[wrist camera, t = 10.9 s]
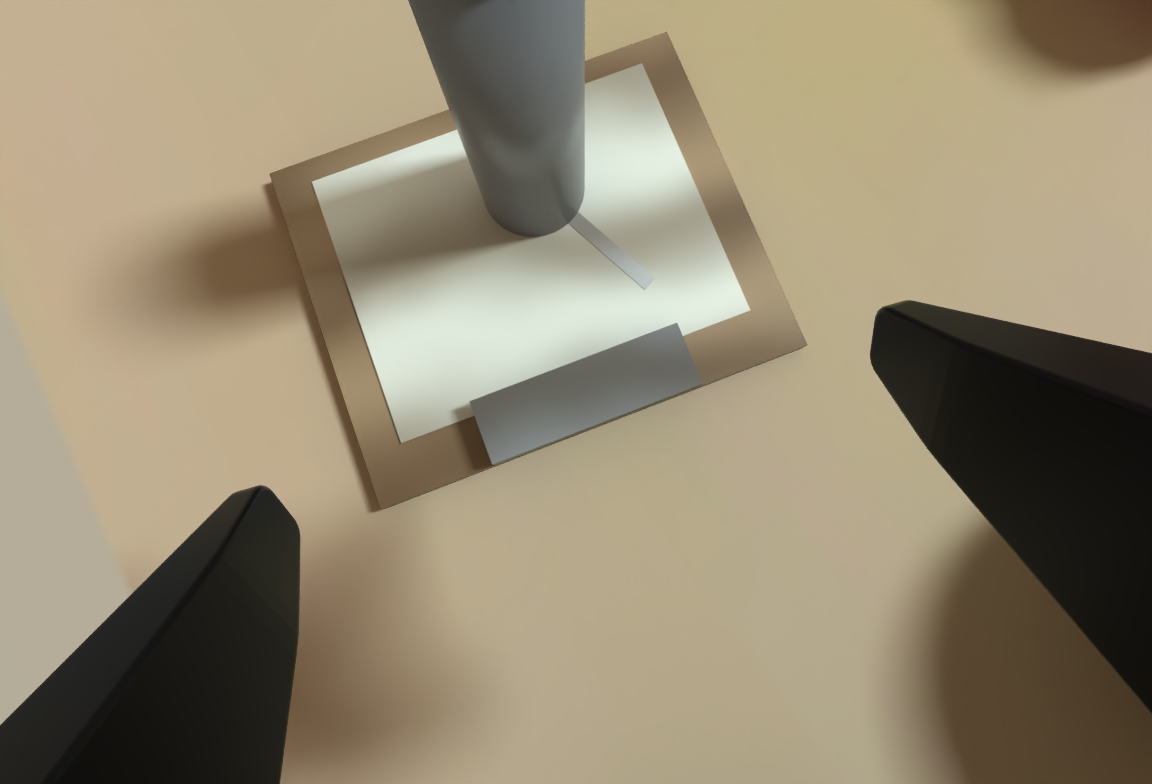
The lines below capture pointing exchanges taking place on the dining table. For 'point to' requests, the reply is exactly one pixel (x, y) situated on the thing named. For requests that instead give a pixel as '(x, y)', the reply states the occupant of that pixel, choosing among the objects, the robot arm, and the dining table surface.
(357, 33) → the dining table surface
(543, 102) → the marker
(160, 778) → the robot arm
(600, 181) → the clipboard
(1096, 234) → the dining table surface
